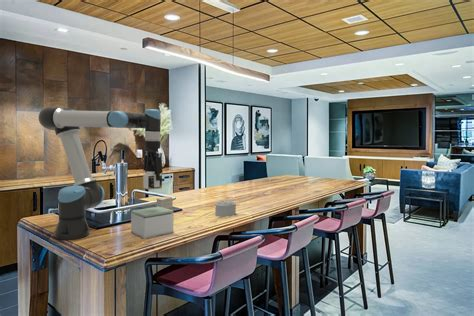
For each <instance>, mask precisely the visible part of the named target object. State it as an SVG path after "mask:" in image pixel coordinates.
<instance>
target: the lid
mask: <svg viewBox="0 0 474 316" xmlns="http://www.w3.org/2000/svg"><path fill="white" fill-rule="evenodd" d="M131 213H134V214H136V215H139V216H142V217H150V216H155V215H161V214H167V213H173V214H174V210H170V209H166V208H163V207H157V206H155V207H147V208H141V209H134V210H131V212H130V214H131Z"/></svg>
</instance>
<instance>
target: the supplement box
mask: <svg viewBox="0 0 474 316" xmlns="http://www.w3.org/2000/svg"><path fill="white" fill-rule="evenodd" d="M173 199H174V198H173V197H172V196H163V197H158V198H156V207H163V208H166V209H170V210H173V209H174V208H173V204H174V202H173ZM173 211H174V210H173Z"/></svg>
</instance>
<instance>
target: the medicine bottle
mask: <svg viewBox="0 0 474 316" xmlns="http://www.w3.org/2000/svg"><path fill="white" fill-rule="evenodd" d="M146 173H147V174H146ZM154 173H155V170H154V165H153V163H152V164H150V165H147V166H146V172H145V173H143V179H142V182H143V184H142V186H143V189H146V190H148V191H151V190H160V189H161V190H162V189H163V175H162V173H161V174H160V187H154Z"/></svg>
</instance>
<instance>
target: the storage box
mask: <svg viewBox="0 0 474 316" xmlns="http://www.w3.org/2000/svg"><path fill="white" fill-rule="evenodd" d="M130 216H131V217H130V218H131V219H130V233H132V234H134V235H136V236H137V237H140V238H142V239H143V240H145V239H147V240H148V239H152V238H155V237H160V236H161V237H162V236H165V234H166V235H169V234H174V212H173V213H167V214H161V215H155V216H150V217H142V216H139V215H136V214H134V213H131V212H130Z"/></svg>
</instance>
